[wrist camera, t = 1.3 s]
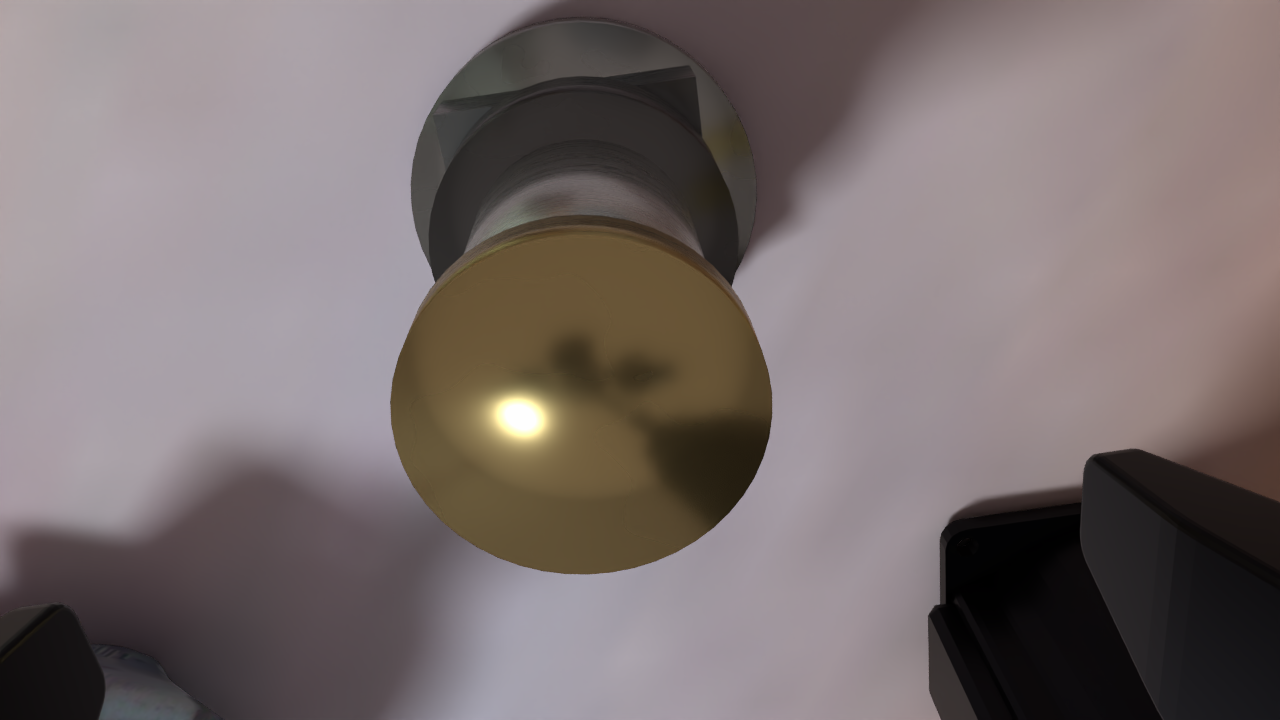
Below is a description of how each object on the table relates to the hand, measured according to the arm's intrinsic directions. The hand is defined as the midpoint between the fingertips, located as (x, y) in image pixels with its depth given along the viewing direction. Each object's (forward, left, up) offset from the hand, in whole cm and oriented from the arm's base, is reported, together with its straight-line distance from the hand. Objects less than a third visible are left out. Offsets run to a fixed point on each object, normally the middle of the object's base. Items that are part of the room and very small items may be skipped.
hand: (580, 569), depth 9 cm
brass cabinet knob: (0, 0, -10) cm, 10 cm away
